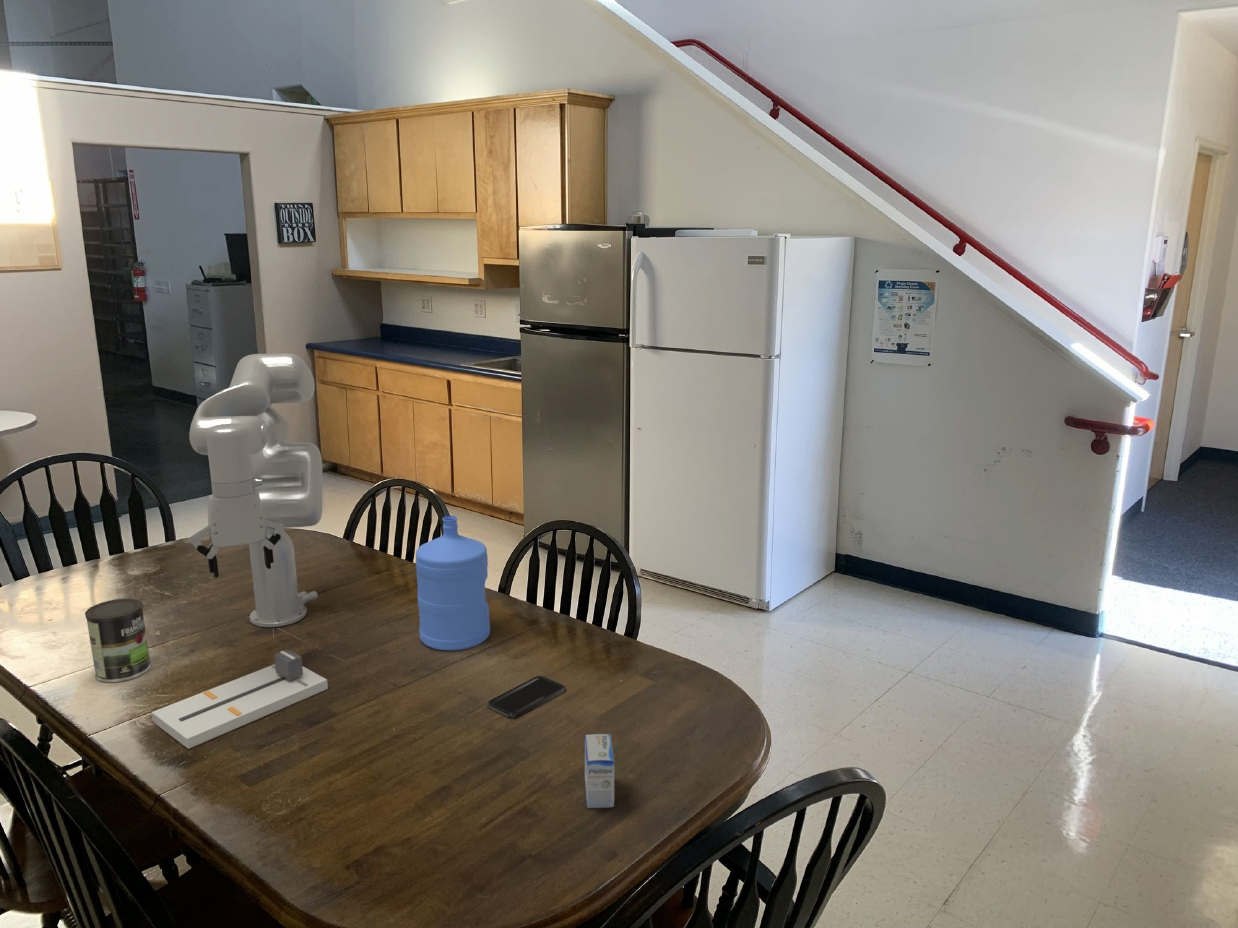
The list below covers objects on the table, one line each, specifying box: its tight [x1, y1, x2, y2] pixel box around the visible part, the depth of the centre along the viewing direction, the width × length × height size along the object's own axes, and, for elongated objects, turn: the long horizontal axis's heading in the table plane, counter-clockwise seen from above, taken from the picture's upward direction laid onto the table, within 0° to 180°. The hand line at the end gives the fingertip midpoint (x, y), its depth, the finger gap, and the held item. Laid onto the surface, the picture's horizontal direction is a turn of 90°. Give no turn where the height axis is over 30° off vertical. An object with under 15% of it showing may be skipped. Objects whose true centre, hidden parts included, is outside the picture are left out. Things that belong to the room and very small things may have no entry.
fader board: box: [151, 663, 329, 750], centre depth 174 cm, size 28×14×2 cm, turn 140°
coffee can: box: [84, 598, 152, 683], centre depth 186 cm, size 10×10×14 cm
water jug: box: [415, 515, 491, 651], centre depth 200 cm, size 16×16×28 cm
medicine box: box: [584, 733, 616, 809], centre depth 146 cm, size 8×4×9 cm, turn 5°
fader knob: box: [273, 649, 303, 681], centre depth 181 cm, size 3×5×4 cm, turn 50°
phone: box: [486, 675, 566, 720], centre depth 177 cm, size 8×1×15 cm
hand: (242, 571), depth 179 cm, fingers open, 9 cm apart
